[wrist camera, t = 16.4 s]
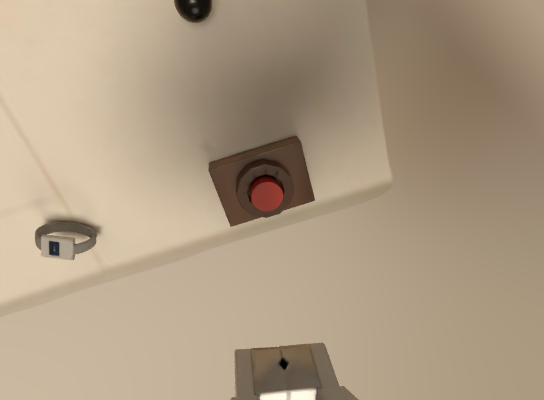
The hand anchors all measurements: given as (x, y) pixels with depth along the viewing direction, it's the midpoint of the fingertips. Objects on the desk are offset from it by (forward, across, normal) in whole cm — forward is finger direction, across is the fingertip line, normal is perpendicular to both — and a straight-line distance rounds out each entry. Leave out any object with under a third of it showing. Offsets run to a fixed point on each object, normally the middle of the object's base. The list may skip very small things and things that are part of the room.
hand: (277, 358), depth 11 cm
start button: (+27, -3, +6) cm, 28 cm away
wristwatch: (+31, +20, +12) cm, 39 cm away
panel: (+31, -3, +6) cm, 32 cm away
